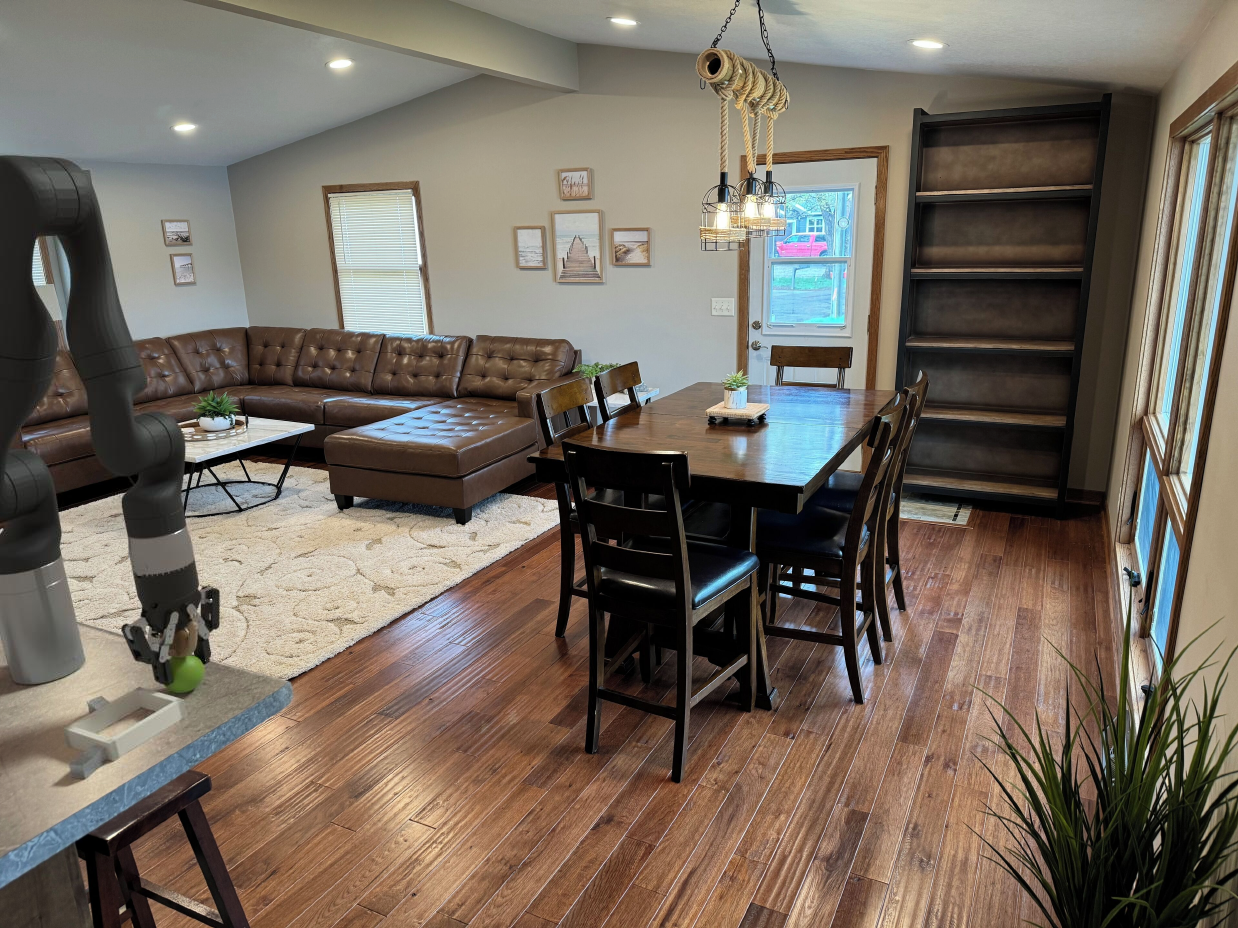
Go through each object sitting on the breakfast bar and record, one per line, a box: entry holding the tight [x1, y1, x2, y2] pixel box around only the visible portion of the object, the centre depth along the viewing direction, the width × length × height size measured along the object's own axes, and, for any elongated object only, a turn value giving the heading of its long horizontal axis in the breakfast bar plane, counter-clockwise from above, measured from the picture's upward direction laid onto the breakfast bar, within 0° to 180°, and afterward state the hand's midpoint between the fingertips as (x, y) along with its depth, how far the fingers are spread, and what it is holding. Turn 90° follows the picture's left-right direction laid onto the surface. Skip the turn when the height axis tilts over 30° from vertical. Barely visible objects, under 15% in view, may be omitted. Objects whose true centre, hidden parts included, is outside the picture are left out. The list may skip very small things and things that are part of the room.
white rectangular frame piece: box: [63, 686, 188, 780], centre depth 109 cm, size 13×15×2 cm
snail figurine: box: [159, 613, 205, 694], centre depth 118 cm, size 5×6×12 cm
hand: (184, 672), depth 119 cm, fingers closed on snail figurine, 5 cm apart
